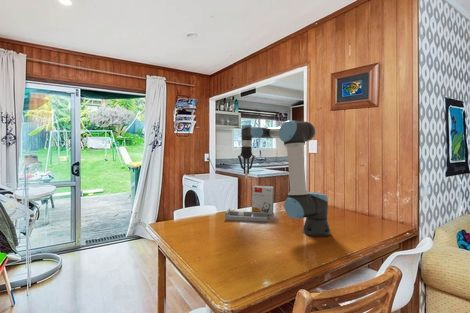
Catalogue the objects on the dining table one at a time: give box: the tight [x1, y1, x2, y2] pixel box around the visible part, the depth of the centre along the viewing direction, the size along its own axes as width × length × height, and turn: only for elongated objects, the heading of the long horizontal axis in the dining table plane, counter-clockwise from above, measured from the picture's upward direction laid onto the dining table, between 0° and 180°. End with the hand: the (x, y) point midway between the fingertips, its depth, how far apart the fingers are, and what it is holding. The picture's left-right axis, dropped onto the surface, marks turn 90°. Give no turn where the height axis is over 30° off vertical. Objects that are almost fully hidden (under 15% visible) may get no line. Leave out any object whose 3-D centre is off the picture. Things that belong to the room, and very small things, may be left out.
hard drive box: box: [251, 185, 275, 216], centre depth 192 cm, size 16×8×20 cm, turn 73°
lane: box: [224, 207, 269, 223], centre depth 177 cm, size 28×14×5 cm, turn 81°
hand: (246, 178), depth 188 cm, fingers closed
